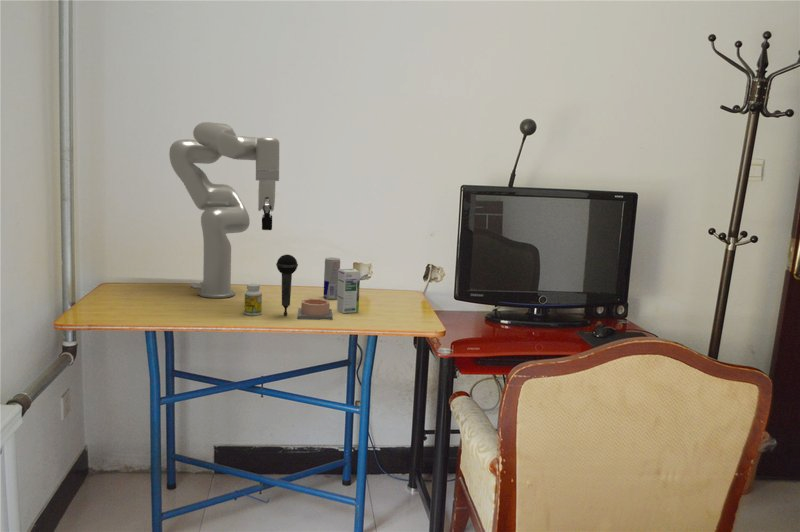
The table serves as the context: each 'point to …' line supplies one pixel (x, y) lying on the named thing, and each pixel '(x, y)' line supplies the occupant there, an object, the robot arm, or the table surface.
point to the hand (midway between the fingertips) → (267, 228)
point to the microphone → (286, 277)
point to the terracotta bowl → (315, 309)
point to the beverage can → (331, 278)
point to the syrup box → (348, 290)
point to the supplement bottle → (253, 300)
